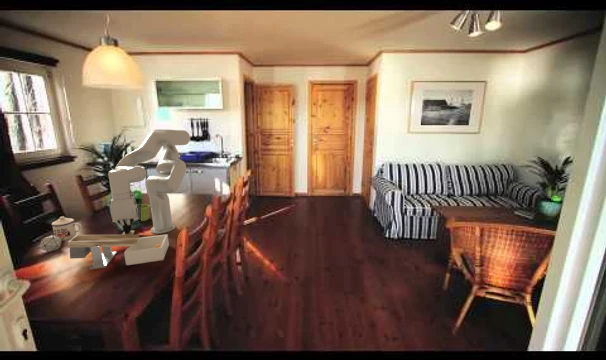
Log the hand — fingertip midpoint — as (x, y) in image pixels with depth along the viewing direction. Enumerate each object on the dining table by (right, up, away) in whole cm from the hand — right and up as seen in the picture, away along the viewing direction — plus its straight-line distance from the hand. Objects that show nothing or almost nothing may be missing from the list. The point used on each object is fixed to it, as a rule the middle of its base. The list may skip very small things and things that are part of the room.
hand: (127, 232), depth 127 cm
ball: (+17, -7, -3) cm, 18 cm away
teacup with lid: (-41, -6, +14) cm, 44 cm away
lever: (-5, -7, -6) cm, 10 cm away
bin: (+12, -10, -4) cm, 16 cm away
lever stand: (-5, -11, -9) cm, 15 cm away
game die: (-36, -9, 0) cm, 37 cm away
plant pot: (-16, 0, +38) cm, 42 cm away
